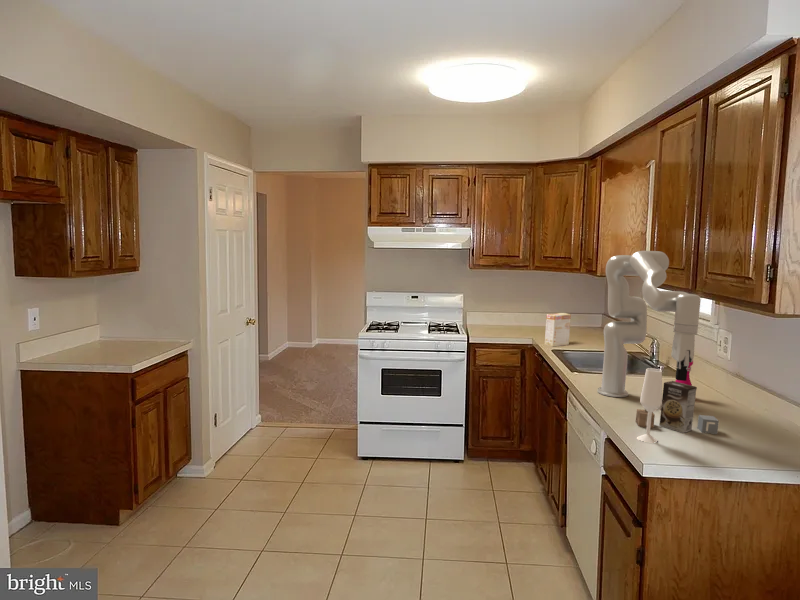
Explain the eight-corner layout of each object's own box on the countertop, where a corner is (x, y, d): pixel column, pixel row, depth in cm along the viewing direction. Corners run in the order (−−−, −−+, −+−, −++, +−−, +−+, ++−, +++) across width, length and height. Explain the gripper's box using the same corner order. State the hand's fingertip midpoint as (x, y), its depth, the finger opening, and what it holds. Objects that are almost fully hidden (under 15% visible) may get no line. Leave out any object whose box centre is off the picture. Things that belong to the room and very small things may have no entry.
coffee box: (658, 425, 203) (662, 382, 201) (667, 422, 206) (672, 380, 204) (683, 433, 195) (688, 388, 193) (692, 430, 199) (697, 386, 197)
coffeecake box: (560, 342, 356) (562, 312, 353) (569, 344, 350) (571, 314, 347) (543, 344, 348) (546, 313, 345) (552, 346, 342) (554, 315, 339)
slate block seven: (697, 428, 202) (698, 414, 201) (712, 429, 201) (713, 416, 200) (702, 433, 197) (703, 419, 196) (717, 434, 196) (719, 420, 195)
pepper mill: (679, 394, 246) (684, 349, 243) (694, 398, 239) (699, 353, 237) (668, 395, 243) (673, 350, 240) (683, 400, 236) (688, 354, 234)
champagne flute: (635, 434, 192) (642, 366, 189) (656, 437, 190) (663, 368, 187) (637, 441, 186) (644, 371, 183) (659, 444, 184) (666, 373, 181)
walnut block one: (635, 422, 206) (637, 406, 205) (650, 423, 205) (651, 407, 204) (638, 426, 201) (640, 410, 200) (653, 428, 200) (655, 411, 199)
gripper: (668, 325, 204) (664, 374, 207) (680, 331, 190) (675, 384, 192) (690, 326, 203) (685, 375, 205) (704, 333, 188) (699, 386, 190)
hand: (680, 379), depth 198 cm, fingers closed
